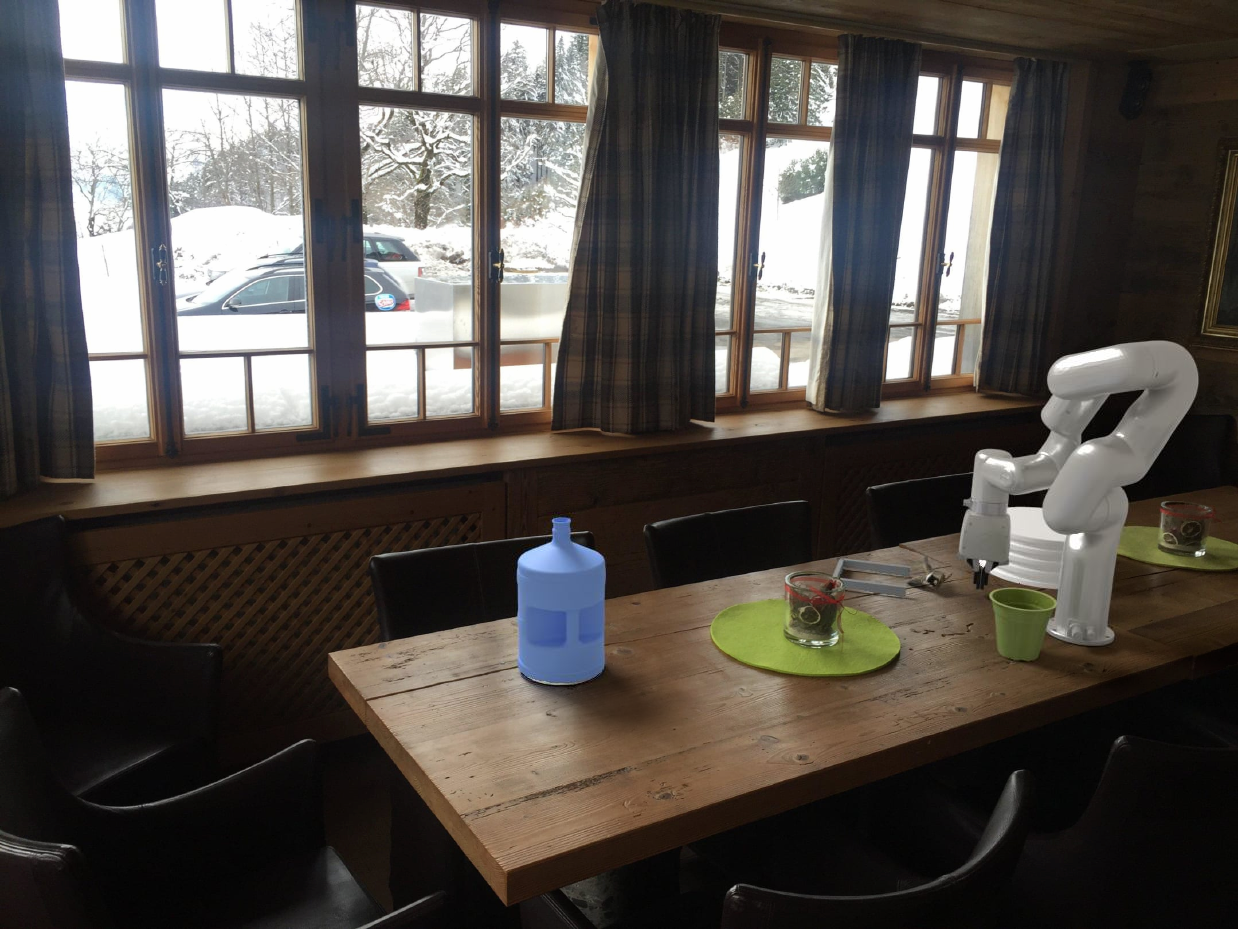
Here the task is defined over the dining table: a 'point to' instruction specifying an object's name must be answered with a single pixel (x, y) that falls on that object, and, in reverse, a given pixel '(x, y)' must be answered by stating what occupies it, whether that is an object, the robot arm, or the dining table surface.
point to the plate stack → (1032, 550)
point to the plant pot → (1021, 621)
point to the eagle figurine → (929, 576)
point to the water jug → (561, 610)
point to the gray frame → (876, 567)
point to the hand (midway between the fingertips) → (979, 587)
